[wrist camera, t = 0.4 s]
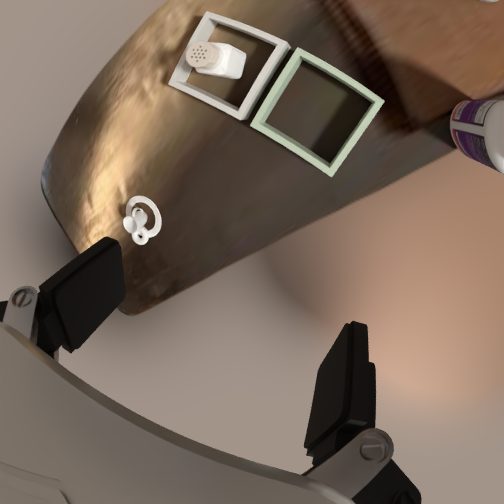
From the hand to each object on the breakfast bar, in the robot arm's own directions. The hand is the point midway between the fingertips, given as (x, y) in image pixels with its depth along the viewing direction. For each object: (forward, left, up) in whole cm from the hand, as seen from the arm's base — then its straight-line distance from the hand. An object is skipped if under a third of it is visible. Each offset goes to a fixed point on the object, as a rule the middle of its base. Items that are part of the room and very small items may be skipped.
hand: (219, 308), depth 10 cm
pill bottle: (-19, +16, -29) cm, 38 cm away
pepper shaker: (-7, -15, -29) cm, 34 cm away
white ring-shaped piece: (+24, -21, -30) cm, 44 cm away
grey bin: (-7, -15, -29) cm, 33 cm away
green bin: (-7, -2, -29) cm, 30 cm away
